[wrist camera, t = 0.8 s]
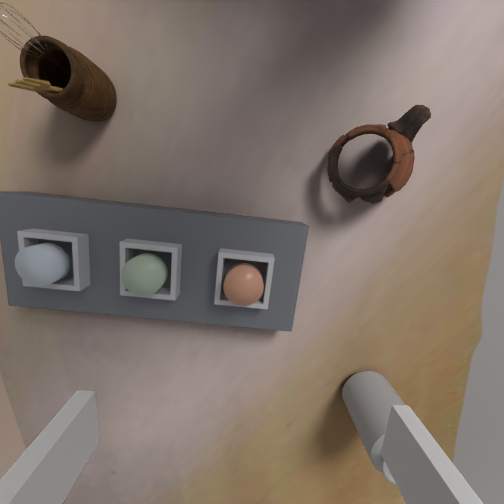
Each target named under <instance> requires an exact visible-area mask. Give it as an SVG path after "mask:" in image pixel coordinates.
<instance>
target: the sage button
mask: <svg viewBox="0 0 504 504" xmlns="http://www.w3.org/2000/svg"><path fill="white" fill-rule="evenodd" d="M167 277H168V268H167V265H166V263H165V262H164V261H163V260H162V259H161V258H160V257H159V256H157V255H155V254H152V253H143V254H140V255H138V256H136V257H134V258H132V259H131V260H129V261H128V262H126V263H125V265H124V266H123V268H122V271H121V279H122V282H123V284H124V286H125V288H126V289H127V290H128V291H130V292H131V293H133V294H135V295H138V296H149V295H152V294H154V293H155V292H157V291H158V290H159V289H160V288H161V286H162V285H163V284H164V283H165V282H166V280H167Z"/></svg>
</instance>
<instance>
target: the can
mask: <svg viewBox="0 0 504 504" xmlns="http://www.w3.org/2000/svg"><path fill="white" fill-rule="evenodd" d="M342 397H343V400H344V403H345V405H346V407H347V409H348V411H349V414H350V416H351V418H352V420H353V422H354V424H355V427H356V429H357V431H358V433H359V435H360V438H361V440H362V442H363V444H364V446H365V448H366V451H367V453H368V455H369V457H370V459H371V461H372V464H373V465H374V466H375V468H376V469H377V470H378V471H380V472H382V473H383V475H384V476H385V477H386V479H387V480H388V481H390V482H392V483H393V484H396V482H395V480H394V479H393V477H392V475H391V473H390V471H389V469H388V467H387V465H386V463H385V461H384V459H383V457H382V455H381V449H382V445H383V441H384V436H385V432H386V428H387V424H388V420H389V416H390V412H391V407H392V405H404V406H406V405H405V404H404V402H403V401H402V400H401V398H400V397H399V396H398V394H397V393H396V392H395V390H394V389H393V388H392V386H391V385H390V383H389V382H388V381H387V379H386V378H385V377H384V376H383V375H381V374H380V373H377V372H373V371H363V372H359V373H356V374H354V375H353V376H351V377H350V378H349V379H348V380H347V381H346V383H345V385H344V387H343V389H342ZM396 485H397V484H396Z"/></svg>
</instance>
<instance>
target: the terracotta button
mask: <svg viewBox="0 0 504 504" xmlns="http://www.w3.org/2000/svg"><path fill="white" fill-rule="evenodd" d="M223 288H224V293H225V295H226V297H227V298H228V300H230V301H231V302H232V303H234V304H236V305H239V306H248V305H251V304H253V303H255V302H256V301H258V300H259V299H260V297H261V296H262V293H263V290H264V284H263V279H262V275H261V273H260V271H259V270H258V269H257V268H256V267H255V266H253V265H251V264H248V263H239V264H236V265H234V266H233V267H231V268H230V269H229V270H228V272H227V274H226V277H225V281H224V286H223Z"/></svg>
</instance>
